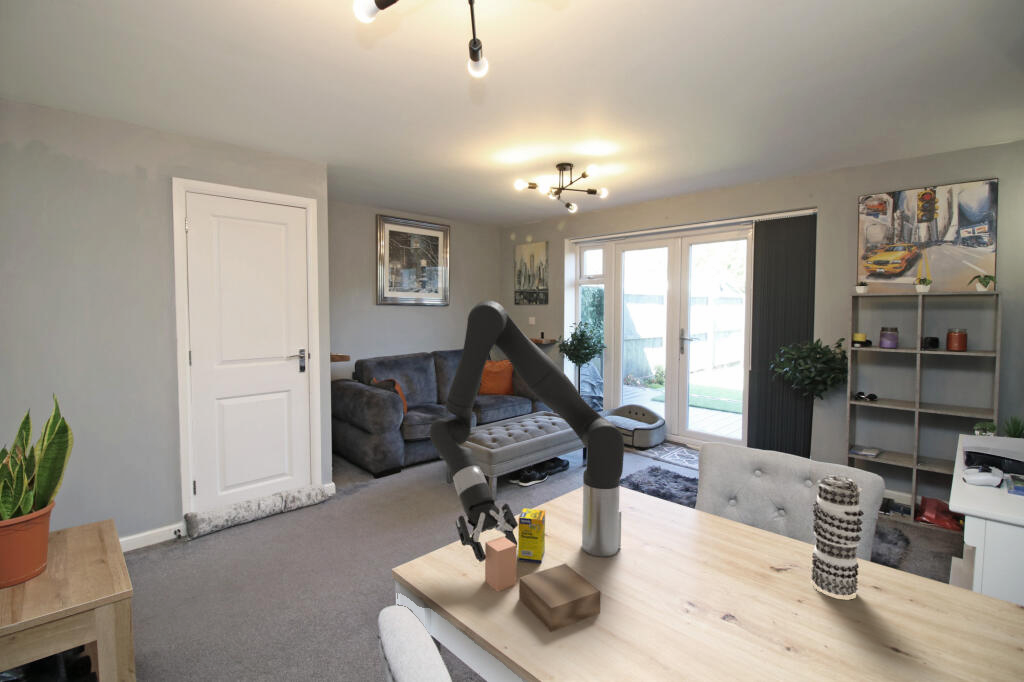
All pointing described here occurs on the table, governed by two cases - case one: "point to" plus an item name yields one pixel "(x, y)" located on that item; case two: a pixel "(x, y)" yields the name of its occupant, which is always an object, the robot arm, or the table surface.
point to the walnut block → (559, 596)
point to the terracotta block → (500, 563)
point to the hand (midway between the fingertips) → (499, 554)
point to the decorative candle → (836, 535)
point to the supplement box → (531, 535)
